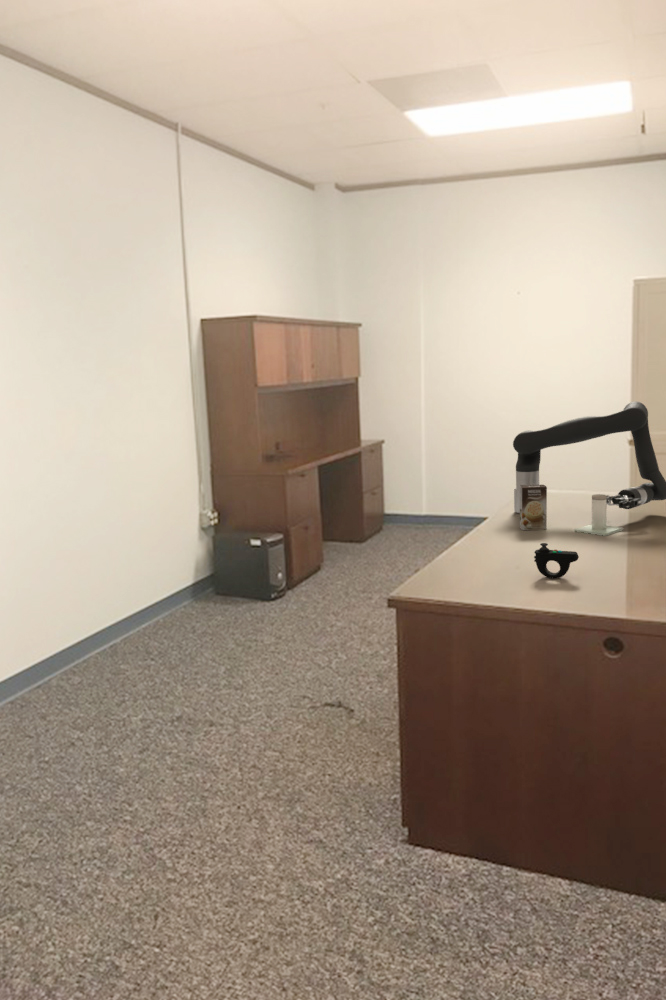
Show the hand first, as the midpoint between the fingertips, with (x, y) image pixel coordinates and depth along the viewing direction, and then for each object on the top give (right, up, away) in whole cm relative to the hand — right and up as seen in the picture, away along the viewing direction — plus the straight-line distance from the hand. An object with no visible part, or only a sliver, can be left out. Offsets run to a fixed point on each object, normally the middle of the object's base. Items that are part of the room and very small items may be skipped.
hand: (608, 504), depth 287 cm
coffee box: (-25, -9, +8) cm, 28 cm away
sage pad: (-4, -10, -1) cm, 10 cm away
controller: (-35, -21, -58) cm, 71 cm away
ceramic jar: (-4, -9, -2) cm, 10 cm away
